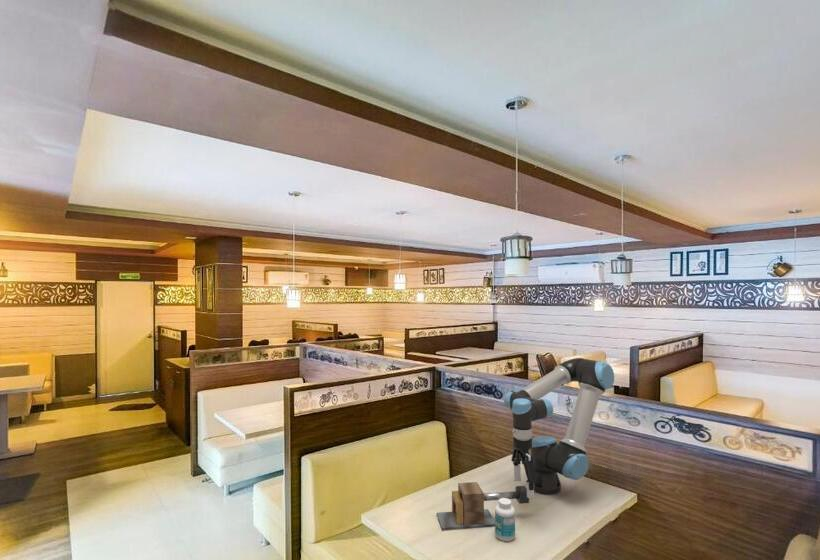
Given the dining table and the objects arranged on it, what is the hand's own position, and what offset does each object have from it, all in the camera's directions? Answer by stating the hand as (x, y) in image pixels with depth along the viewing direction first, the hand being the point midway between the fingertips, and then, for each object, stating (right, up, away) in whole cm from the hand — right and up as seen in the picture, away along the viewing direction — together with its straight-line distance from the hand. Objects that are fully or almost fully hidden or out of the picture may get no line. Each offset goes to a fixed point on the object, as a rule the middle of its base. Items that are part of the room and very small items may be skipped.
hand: (523, 488), depth 173 cm
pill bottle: (-11, -11, -14) cm, 21 cm away
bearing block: (-24, -11, -4) cm, 27 cm away
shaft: (-10, -5, -2) cm, 11 cm away
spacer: (-28, -10, -4) cm, 30 cm away
